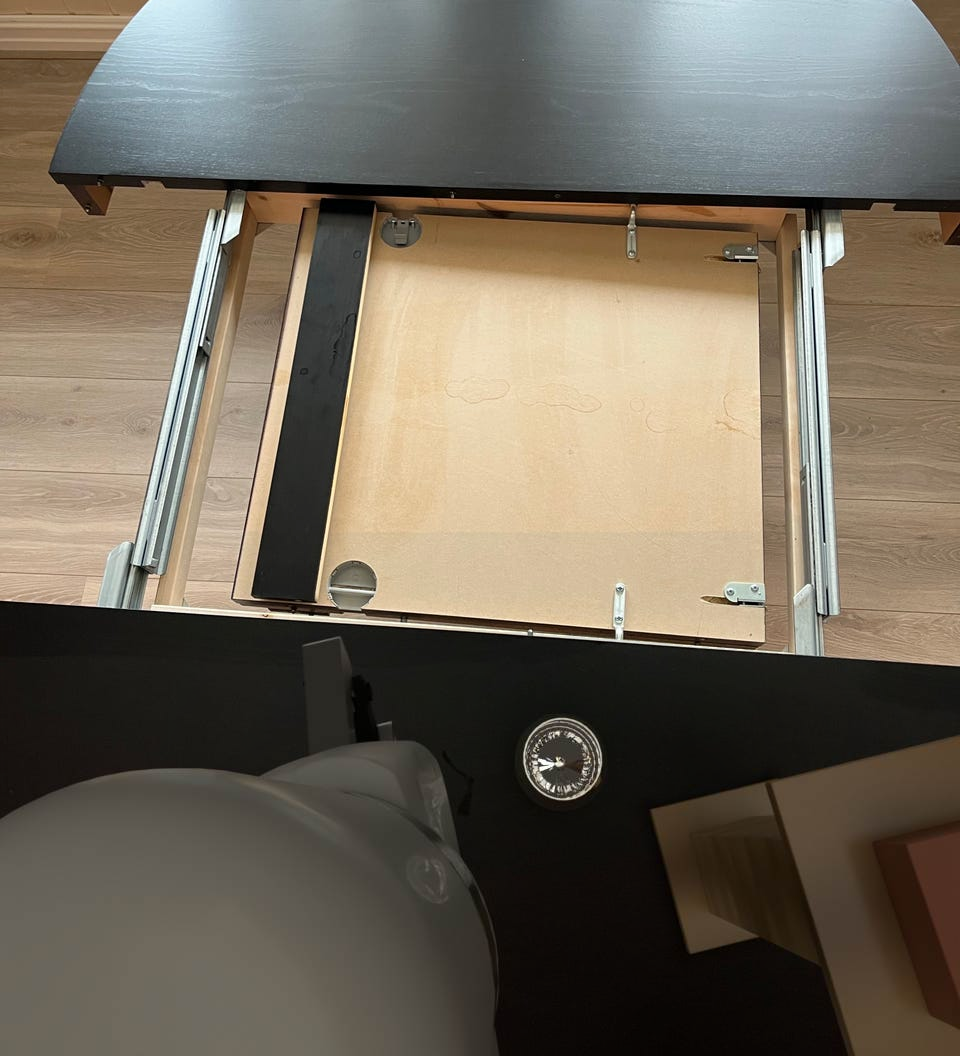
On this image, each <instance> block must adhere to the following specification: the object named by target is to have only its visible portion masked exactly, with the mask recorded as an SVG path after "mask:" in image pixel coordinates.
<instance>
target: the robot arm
mask: <svg viewBox="0 0 960 1056" xmlns="http://www.w3.org/2000/svg"><path fill="white" fill-rule="evenodd" d="M301 652H302V669H303V681H304V682H303V684H304V698H305V712H306V713H305V715H306V728H307V729H306V730H307V743H308V744H307V745H308V756H305V757H301V758H298V759H295V760H293V761H290V762H287V763H285V764H282V765H279V766H277V767H275V768H273V769H271V770H269V771H266V772H265V773H263V774H261V775H260V776H257V775H250V774H247V773H240V772H235V771H230V770H221V769H211V768H201V767H200V768H196V767H195V768H193V767H192V768H189V767H188V768H184V767H183V768H182V767H181V768H180V767H178V768H176V767H175V768H173V767H172V768H151V769H140V770H139V769H138V770H128V771H122V772H118V773H113V774H107V775H102V776H101V775H100V776H98V777H94V778H91V779H87V780H83V781H80V782H75V783H74V784H70V785H68V786H66V787H63V788H60V789H57V790H55V791H52V792H49V793H46V794H45V795H43V796H41V797H38V798H37V799H35V800H32V801H30V802H28V803H25V804H23V805H22V806H20V807H18V808H16V809H13V810H12V811H11V812H9V813H8V814H6V815H5V816H2V818H0V1056H500V1052H499V1045H498V1039H497V1033H496V1027H495V1023H496V1017H497V1009H498V1001H499V989H500V985H499V983H500V981H499V955H498V947H497V940H496V935H495V929H494V927H493V922H492V919H491V916H490V913H489V910H488V907H487V904H486V902H485V898H484V896H483V894H482V892H481V890H480V888H479V886H478V883H477V881H476V879H475V878H474V876H473V874H472V872H471V871H470V869H469V867H468V865H467V864H466V863H465V861H464V860H463V858H462V857H461V852H460V847H459V842H458V837H457V834H456V828H455V823H454V818H453V815H452V810H451V805H450V800H449V796H448V793H447V788H446V785H445V780H444V776H443V774H442V771H441V767H440V764H439V762H438V760H437V758H436V757H435V756H434V755H433V753H432V752H431V751H430V750H429V749H428V748H427V747H425V746H424V745H423V744H421V743H419V742H416V741H414V740H398V737H397V733H396V729H395V725H394V722H393V721H392V720H389V721H385V722H381V723H377V720H376V717H375V715H374V711H373V708H372V707H373V706H372V703H371V702H372V701H374V699H373V696H374V695H373V688H372V685H371V681H368V682H366V679H365V678H364V677H363V675H362V674H360V673H359V674H357V675H354V674H353V665H352V662H351V659H350V657H349V655H348V651H347V649H346V646H345V643H344V641H343V638H342V637H341V636H335V637H331V638H327V639H323V640H317V641H313V642H310V643H306V644H302V647H301Z"/></svg>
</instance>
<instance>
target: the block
mask: <svg viewBox="0 0 960 1056" xmlns="http://www.w3.org/2000/svg"><path fill="white" fill-rule="evenodd" d="M873 847H874V850H875V853H876V856H877V859H878V862H879V865H880V868H881V871H882V874H883V877H884V879H885V882H886V885H887V888H888V891H889V894H890V897H891V900H892V903H893V906H894V909H895V912H896V915H897V918H898V921H899V924H900V927H901V930H902V933H903V936H904V939H905V942H906V945H907V948H908V951H909V954H910V957H911V960H912V963H913V966H914V969H915V972H916V975H917V978H918V981H919V984H920V987H921V990H922V993H923V996H924V999H925V1002H926V1004H927V1007H928V1010H929V1013H930V1015H931V1016H932V1017H934V1018H936V1019H938V1020H940V1021H942V1022H944V1023H947V1024H949V1025H951V1026H953V1027H955V1028H957V1029H959V1030H960V820H958V821H954V822H950V823H946V824H942V825H938V826H934V827H930V828H926V829H922V830H918V831H914V832H910V833H906V834H902V835H897V836H893V837H889V838H885V839H881V840H877V841H874V842H873Z"/></svg>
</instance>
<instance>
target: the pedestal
mask: <svg viewBox="0 0 960 1056" xmlns="http://www.w3.org/2000/svg"><path fill="white" fill-rule="evenodd" d="M649 815H650V819H651V822H652V826H653V830H654V833H655V837H656V840H657V841H656V842H657V844H658V849H659V852H660V857H661V859H662V864H663V868H664V871H665V874H666V879H667V882H668V885H669V891H670V893H671V897H672V901H673V904H674V908H675V912H676V915H677V919H678V923H679V927H680V931H681V935H682V938H683V942H684V945H685V949H686V953H688V954H689V955H694V954H697V953H701V952H702V953H703V952H705V951H709V950H713V949H718V948H721V947H727V946H729V945H734V944H737V943H741V942H745V941H750V940H753V939H757V938H761V939H762V940H765V941H767V942H769V943H771V944H774V945H776V946H778V947H780V948H782V949H783V950H786V951H788V952H790V953H792V954H794V955H796V956H798V957H800V958H803V959H805V960H807V961H809V962H810V963H813V964H815V965H817V966H819V967H820V968H821V971H822V975H823V978H824V981H825V984H826V987H827V991H828V994H829V997H830V1001H831V1004H832V1007H833V1010H834V1014H835V1017H836V1020H837V1023H838V1027H839V1030H840V1033H841V1037H842V1040H843V1043H844V1046H845V1049H846V1053H847V1056H960V1030H959V1029H957V1028H955V1027H953V1026H951V1025H949V1024H947V1023H944V1022H942V1021H940V1020H938V1019H936V1018H934V1017H932V1016H931V1015H930V1013H929V1010H928V1007H927V1004H926V1002H925V999H924V996H923V993H922V990H921V987H920V984H919V981H918V978H917V975H916V972H915V969H914V966H913V963H912V960H911V957H910V954H909V951H908V948H907V945H906V942H905V939H904V936H903V933H902V930H901V927H900V924H899V921H898V918H897V915H896V912H895V909H894V906H893V903H892V900H891V897H890V894H889V891H888V888H887V885H886V882H885V879H884V877H883V874H882V871H881V868H880V865H879V862H878V859H877V856H876V853H875V850H874V847H873V842H874V841H877V840H881V839H885V838H889V837H893V836H897V835H902V834H906V833H910V832H914V831H918V830H922V829H926V828H930V827H934V826H938V825H942V824H946V823H950V822H954V821H958V820H960V734H958V735H954V736H950V737H946V738H941V739H937V740H934V741H930V742H926V743H922V744H917V745H914V746H913V745H912V746H909V747H906V748H905V747H904V748H901V749H897V750H892V751H888V752H885V753H884V752H883V753H881V754H877V755H872V756H868V757H865V758H860V759H856V760H852V761H848V762H843V763H839V764H836V765H831V766H827V767H824V768H820V769H814V770H810V771H807V772H802V773H799V774H794V775H791V776H786V777H782V778H779V777H777V778H772V779H768V780H763V781H760V782H759V781H758V782H756V783H752V784H746V785H743V786H740V787H736V788H731V789H727V790H724V791H723V790H722V791H718V792H715V793H711V794H707V795H702V796H698V797H695V798H690V799H686V800H682V801H678V802H674V803H669V804H665V805H662V806H661V805H660V806H657V807H654V808H649Z"/></svg>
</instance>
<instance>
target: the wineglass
mask: <svg viewBox="0 0 960 1056" xmlns="http://www.w3.org/2000/svg"><path fill="white" fill-rule="evenodd" d="M513 755H514V756H513V758H514V759H513V767H514V772H515V777H516V779H517V781H518V784H519V786H520V788H521V789H522V791H523V792H524V794H525V795H526V796H527V797H528V798H529V800H531V801H532V802H534V803H535V804H537V805H538V806H539V807H542V808H544V809H546V810H550V811H555V812H570V811H573V810H577V809H579V808H581V807H584V806H586V805H587V804H588V803H590V802H591V801H592V800H593V799H594V798H595V797H596V796H597V795H598V794H599V792H600V791H601V789H602V788H603V786H604V783H605V780H606V778H607V773H608V767H609V763H608V753H607V750H606V746H605V743H604V740H603V739H602V737H601V735H600V733H598V731H597V730H596V729H595V727H594V726H592V724H590V723H589V721H586V719H583V718H581V717H580V716H578V715H574V714H571V713H566V712H557V713H555V712H554V713H549V714H546V715H542V716H541V717H539V718H537V719H535V720H534V721H532V722H531V723H530V724H529V725H528V726H527V727H526V728H525V729H524V731H523V732H521V735H520V736H519V738H518V740H517V743H516V746H515V750H514V754H513Z"/></svg>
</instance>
